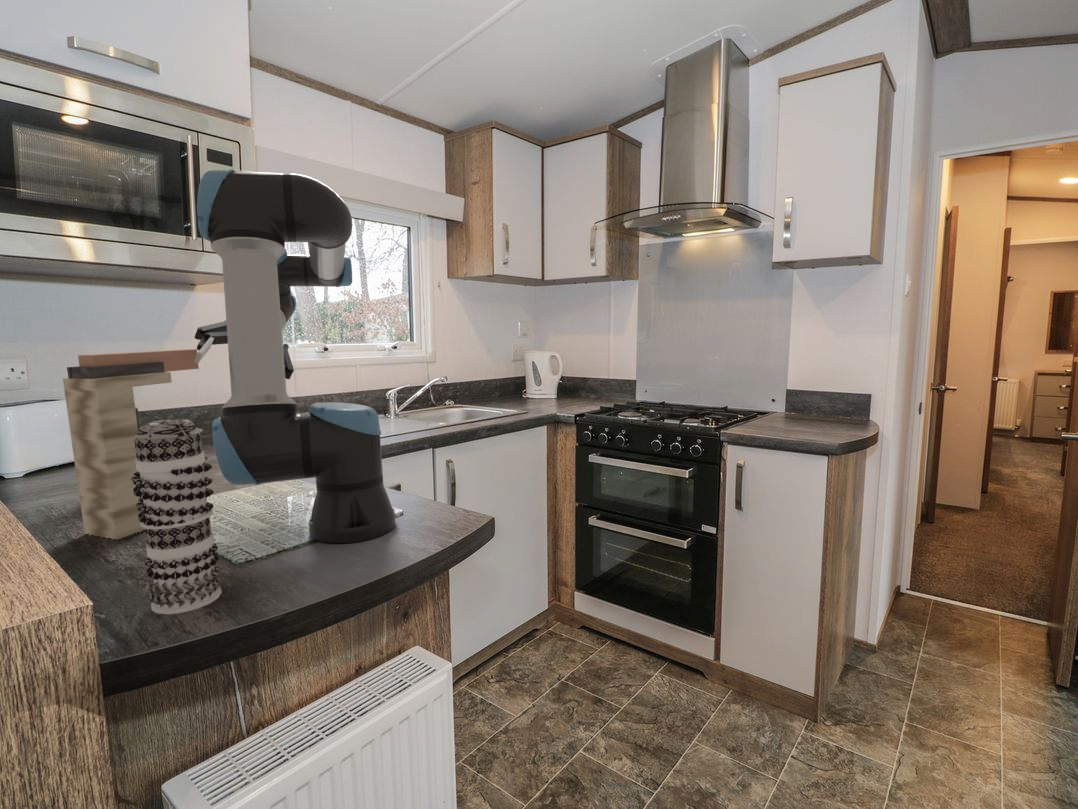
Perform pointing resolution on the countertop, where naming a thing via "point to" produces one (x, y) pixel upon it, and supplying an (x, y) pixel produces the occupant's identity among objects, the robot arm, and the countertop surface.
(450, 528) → the countertop surface
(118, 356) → the reddish brown bar
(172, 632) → the countertop surface
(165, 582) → the decorative candle
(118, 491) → the shelf stand
